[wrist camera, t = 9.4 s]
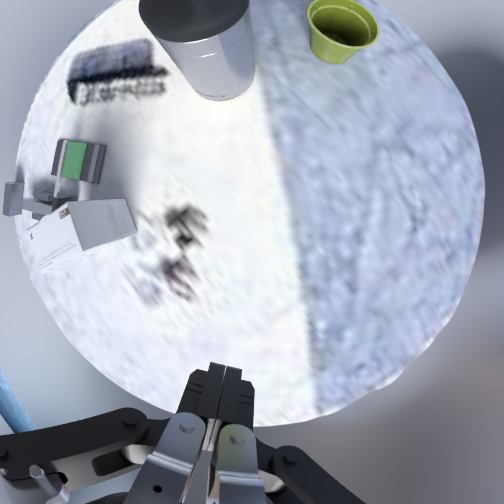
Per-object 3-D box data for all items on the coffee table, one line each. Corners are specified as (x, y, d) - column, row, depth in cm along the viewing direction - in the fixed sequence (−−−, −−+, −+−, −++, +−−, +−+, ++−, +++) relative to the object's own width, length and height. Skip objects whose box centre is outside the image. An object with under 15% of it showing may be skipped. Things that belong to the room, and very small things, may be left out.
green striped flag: (25, 138, 35) (13, 137, 31) (106, 145, 35) (94, 142, 32) (15, 211, 38) (2, 214, 35) (91, 236, 39) (78, 240, 35)
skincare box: (99, 250, 39) (39, 278, 25) (87, 215, 38) (22, 231, 23) (140, 232, 38) (83, 255, 24) (127, 194, 37) (64, 200, 23)
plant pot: (286, 36, 31) (291, 5, 22) (335, 19, 30) (349, -10, 21) (322, 82, 32) (337, 57, 24) (371, 62, 31) (393, 38, 23)
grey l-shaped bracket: (41, 139, 34) (22, 136, 29) (87, 143, 35) (68, 139, 29) (29, 218, 38) (10, 222, 32) (73, 232, 38) (53, 238, 33)
